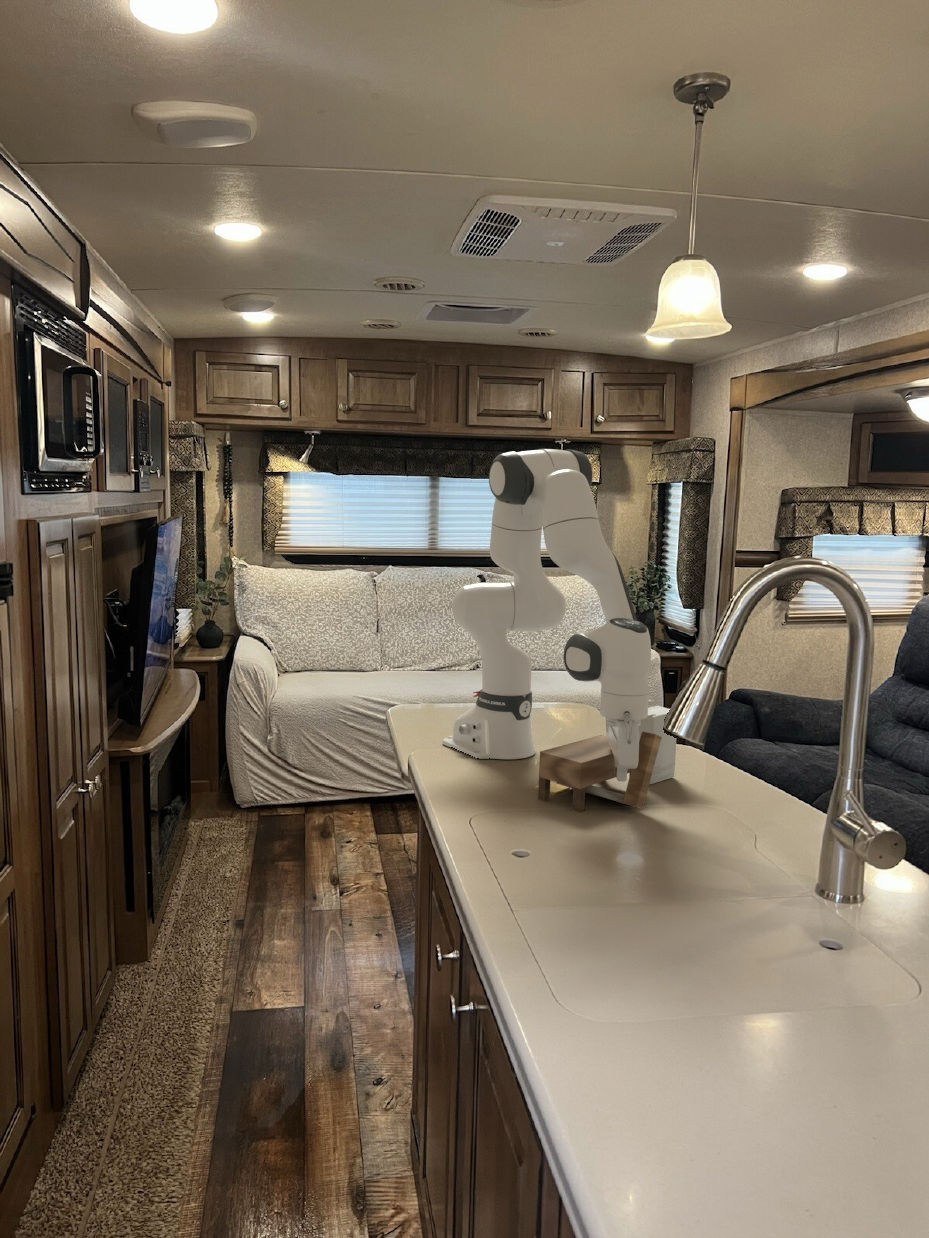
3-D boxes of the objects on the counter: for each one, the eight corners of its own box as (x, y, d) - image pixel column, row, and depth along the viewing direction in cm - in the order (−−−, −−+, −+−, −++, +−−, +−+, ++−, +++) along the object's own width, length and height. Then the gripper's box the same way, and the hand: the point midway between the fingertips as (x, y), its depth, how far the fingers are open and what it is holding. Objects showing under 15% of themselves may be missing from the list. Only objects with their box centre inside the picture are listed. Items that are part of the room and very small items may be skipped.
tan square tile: (534, 791, 185) (534, 786, 185) (550, 786, 188) (550, 781, 188) (554, 797, 181) (554, 792, 181) (569, 792, 185) (569, 787, 185)
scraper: (647, 810, 174) (666, 739, 176) (631, 805, 169) (651, 732, 172) (572, 788, 186) (591, 722, 188) (556, 783, 181) (575, 715, 183)
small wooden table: (537, 799, 178) (539, 751, 177) (599, 778, 192) (601, 734, 191) (579, 812, 171) (581, 762, 170) (639, 790, 185) (642, 744, 184)
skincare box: (653, 771, 199) (657, 704, 197) (675, 778, 194) (680, 710, 192) (627, 778, 194) (631, 709, 192) (650, 785, 189) (654, 715, 187)
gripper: (649, 720, 160) (644, 796, 162) (634, 695, 181) (630, 763, 182) (612, 718, 161) (609, 794, 162) (602, 694, 181) (598, 762, 183)
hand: (620, 778), depth 173 cm, fingers closed
